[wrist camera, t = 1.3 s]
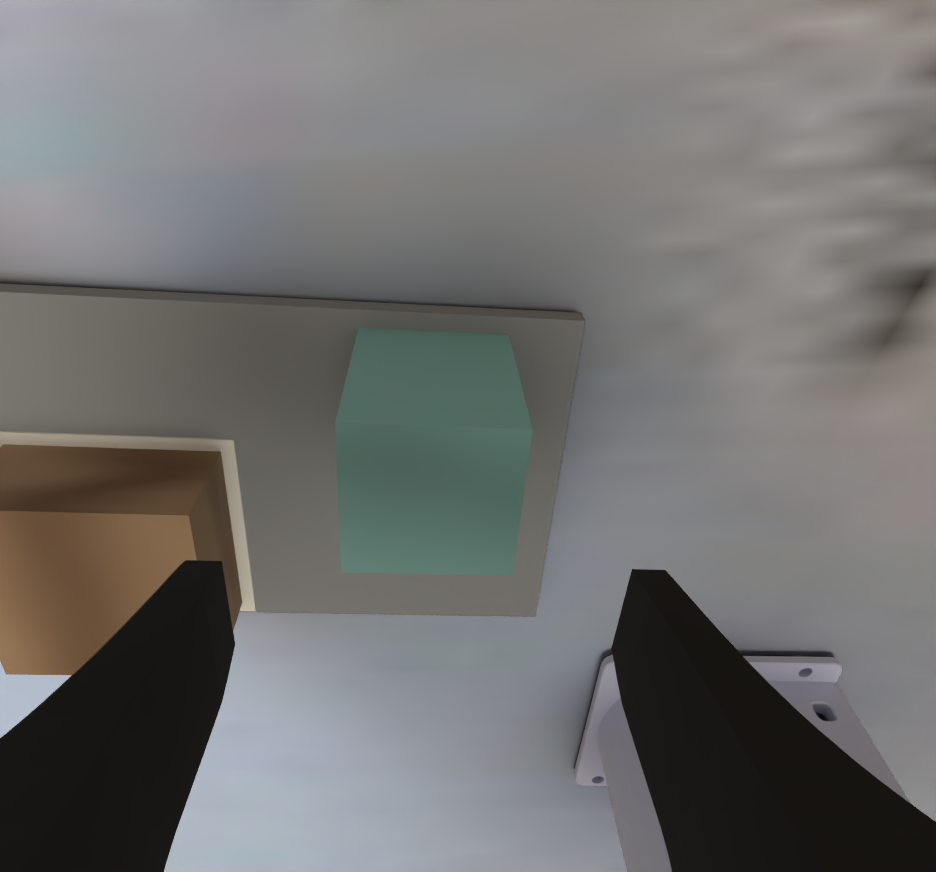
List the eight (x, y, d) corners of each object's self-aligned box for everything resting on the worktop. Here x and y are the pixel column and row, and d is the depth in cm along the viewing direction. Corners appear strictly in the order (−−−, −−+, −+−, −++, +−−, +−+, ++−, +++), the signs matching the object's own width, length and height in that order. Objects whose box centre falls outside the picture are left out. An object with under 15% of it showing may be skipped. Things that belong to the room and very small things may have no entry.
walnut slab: (220, 451, 19) (188, 515, 17) (242, 602, 23) (218, 676, 20) (3, 444, 19) (-64, 508, 16) (55, 599, 22) (6, 674, 19)
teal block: (508, 334, 18) (533, 429, 14) (495, 459, 20) (512, 575, 16) (358, 327, 18) (335, 422, 13) (360, 455, 20) (340, 572, 16)
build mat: (580, 312, 18) (585, 321, 18) (533, 604, 24) (535, 618, 24) (-116, 277, 17) (-135, 286, 17) (7, 594, 23) (-4, 609, 22)
